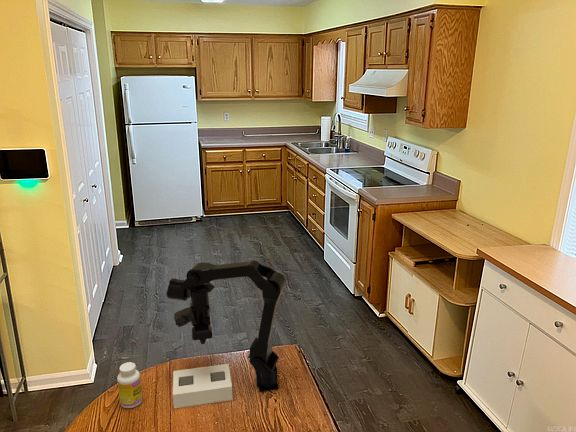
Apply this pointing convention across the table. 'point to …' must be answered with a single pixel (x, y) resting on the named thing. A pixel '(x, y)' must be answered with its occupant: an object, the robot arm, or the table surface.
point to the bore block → (202, 386)
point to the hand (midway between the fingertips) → (202, 343)
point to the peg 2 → (217, 376)
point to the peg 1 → (186, 380)
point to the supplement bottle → (129, 385)
